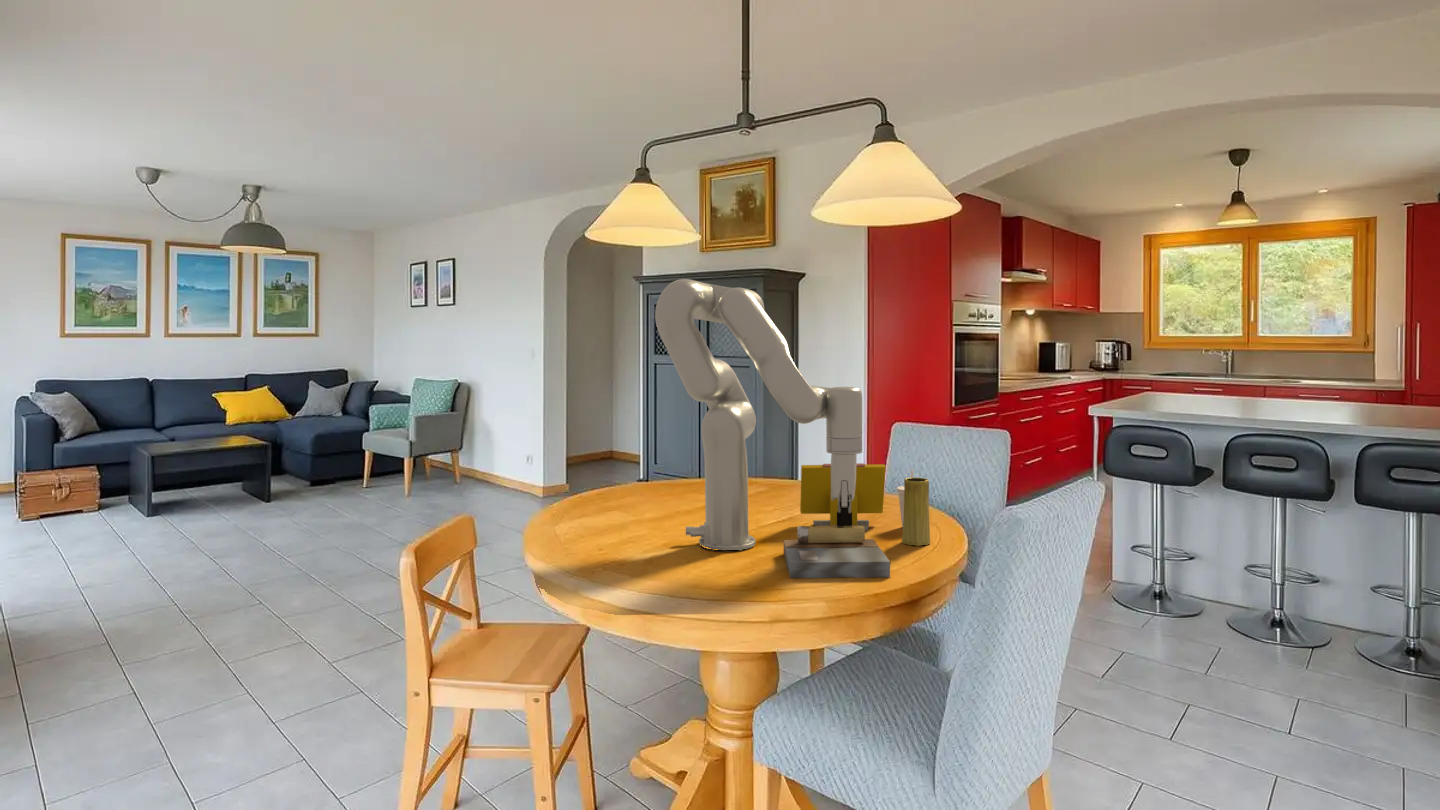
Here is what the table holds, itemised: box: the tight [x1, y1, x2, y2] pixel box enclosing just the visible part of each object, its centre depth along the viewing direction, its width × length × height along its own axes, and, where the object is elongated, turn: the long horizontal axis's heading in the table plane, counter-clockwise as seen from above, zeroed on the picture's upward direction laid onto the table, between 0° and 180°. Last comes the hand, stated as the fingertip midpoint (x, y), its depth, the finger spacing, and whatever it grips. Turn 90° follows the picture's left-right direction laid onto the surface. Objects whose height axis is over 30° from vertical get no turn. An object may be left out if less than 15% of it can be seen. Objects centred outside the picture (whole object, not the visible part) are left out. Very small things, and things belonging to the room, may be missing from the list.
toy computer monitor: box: [799, 462, 887, 532], centre depth 186 cm, size 20×8×16 cm, turn 88°
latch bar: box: [796, 525, 866, 543], centre depth 160 cm, size 14×3×3 cm, turn 89°
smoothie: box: [896, 469, 914, 528], centre depth 185 cm, size 6×6×14 cm
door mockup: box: [783, 538, 891, 579], centre depth 155 cm, size 19×17×3 cm
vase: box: [901, 477, 931, 547], centre depth 171 cm, size 6×6×14 cm
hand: (844, 530), depth 164 cm, fingers closed
